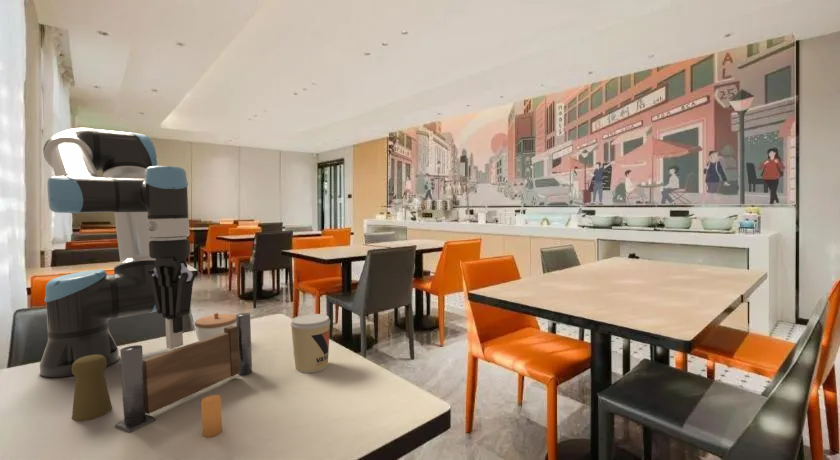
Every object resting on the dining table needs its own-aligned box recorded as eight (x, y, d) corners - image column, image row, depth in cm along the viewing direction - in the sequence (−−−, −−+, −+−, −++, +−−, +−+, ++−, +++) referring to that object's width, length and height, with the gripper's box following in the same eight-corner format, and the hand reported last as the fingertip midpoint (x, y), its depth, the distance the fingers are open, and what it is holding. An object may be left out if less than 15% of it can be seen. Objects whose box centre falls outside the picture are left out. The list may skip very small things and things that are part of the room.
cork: (67, 424, 73) (63, 365, 73) (77, 409, 79) (73, 354, 78) (108, 415, 76) (105, 359, 75) (115, 402, 81) (112, 349, 81)
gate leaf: (143, 412, 75) (140, 354, 75) (233, 371, 93) (231, 325, 93) (149, 414, 74) (146, 356, 74) (239, 373, 93) (237, 326, 92)
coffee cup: (321, 375, 93) (319, 324, 93) (284, 372, 95) (283, 323, 94) (337, 360, 102) (336, 314, 102) (303, 358, 104) (302, 312, 104)
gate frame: (114, 427, 72) (110, 350, 71) (243, 368, 98) (241, 312, 97) (129, 432, 70) (125, 354, 69) (257, 371, 96) (255, 314, 95)
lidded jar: (212, 338, 121) (211, 307, 120) (245, 340, 119) (244, 308, 119) (187, 351, 110) (185, 317, 109) (223, 353, 108) (221, 319, 108)
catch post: (198, 434, 69) (197, 401, 69) (214, 426, 72) (212, 393, 72) (210, 438, 68) (209, 404, 68) (225, 429, 71) (224, 396, 70)
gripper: (132, 239, 86) (138, 348, 87) (171, 240, 80) (177, 356, 81) (167, 237, 93) (172, 337, 94) (205, 237, 87) (210, 344, 88)
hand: (174, 346), depth 88 cm, fingers closed
